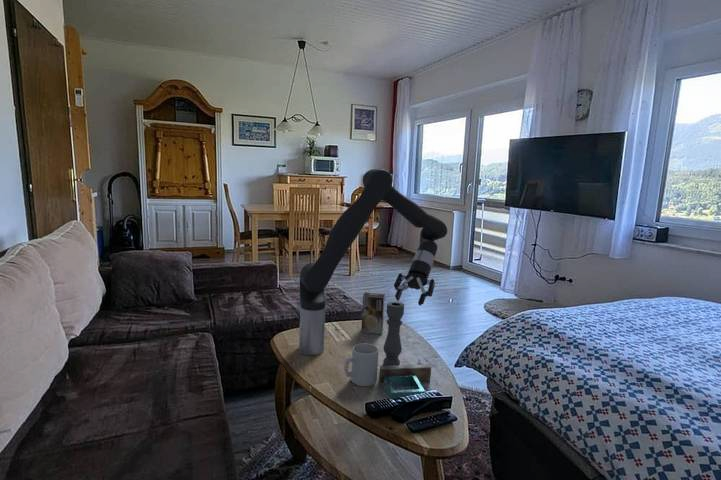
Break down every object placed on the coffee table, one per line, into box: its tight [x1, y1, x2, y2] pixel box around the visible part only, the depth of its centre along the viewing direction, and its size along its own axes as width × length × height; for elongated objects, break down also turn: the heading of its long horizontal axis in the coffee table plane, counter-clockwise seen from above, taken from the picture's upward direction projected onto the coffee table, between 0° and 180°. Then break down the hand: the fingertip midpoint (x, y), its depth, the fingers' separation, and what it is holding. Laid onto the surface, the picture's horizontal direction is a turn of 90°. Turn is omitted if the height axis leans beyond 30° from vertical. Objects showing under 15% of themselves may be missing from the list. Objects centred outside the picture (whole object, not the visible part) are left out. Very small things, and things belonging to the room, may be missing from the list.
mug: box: [343, 342, 379, 387], centre depth 131 cm, size 12×8×11 cm
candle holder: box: [381, 300, 405, 366], centre depth 136 cm, size 6×6×25 cm
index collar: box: [382, 374, 426, 400], centre depth 126 cm, size 10×10×4 cm
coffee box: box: [360, 292, 386, 335], centre depth 173 cm, size 9×6×16 cm
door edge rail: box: [378, 363, 433, 385], centre depth 133 cm, size 17×2×5 cm, turn 100°
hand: (408, 302), depth 144 cm, fingers open, 8 cm apart
